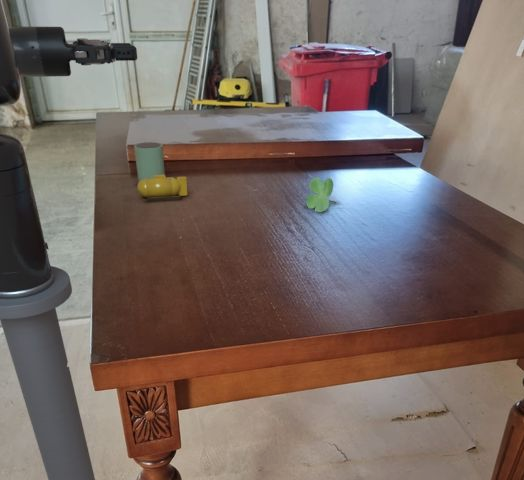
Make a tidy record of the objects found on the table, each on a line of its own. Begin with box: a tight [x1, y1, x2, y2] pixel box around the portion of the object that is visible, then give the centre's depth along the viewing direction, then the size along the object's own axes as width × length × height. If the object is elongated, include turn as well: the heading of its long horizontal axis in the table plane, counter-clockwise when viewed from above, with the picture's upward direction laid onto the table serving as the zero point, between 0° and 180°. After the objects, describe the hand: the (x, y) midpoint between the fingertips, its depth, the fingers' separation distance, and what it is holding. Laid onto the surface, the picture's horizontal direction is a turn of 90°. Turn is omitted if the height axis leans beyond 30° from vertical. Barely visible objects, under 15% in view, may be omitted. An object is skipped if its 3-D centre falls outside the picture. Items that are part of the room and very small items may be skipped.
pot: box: [133, 141, 166, 184], centre depth 118 cm, size 6×6×8 cm
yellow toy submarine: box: [136, 174, 188, 202], centre depth 110 cm, size 10×4×5 cm, turn 102°
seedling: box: [305, 176, 337, 213], centre depth 108 cm, size 7×8×6 cm
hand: (134, 51), depth 94 cm, fingers open, 8 cm apart
